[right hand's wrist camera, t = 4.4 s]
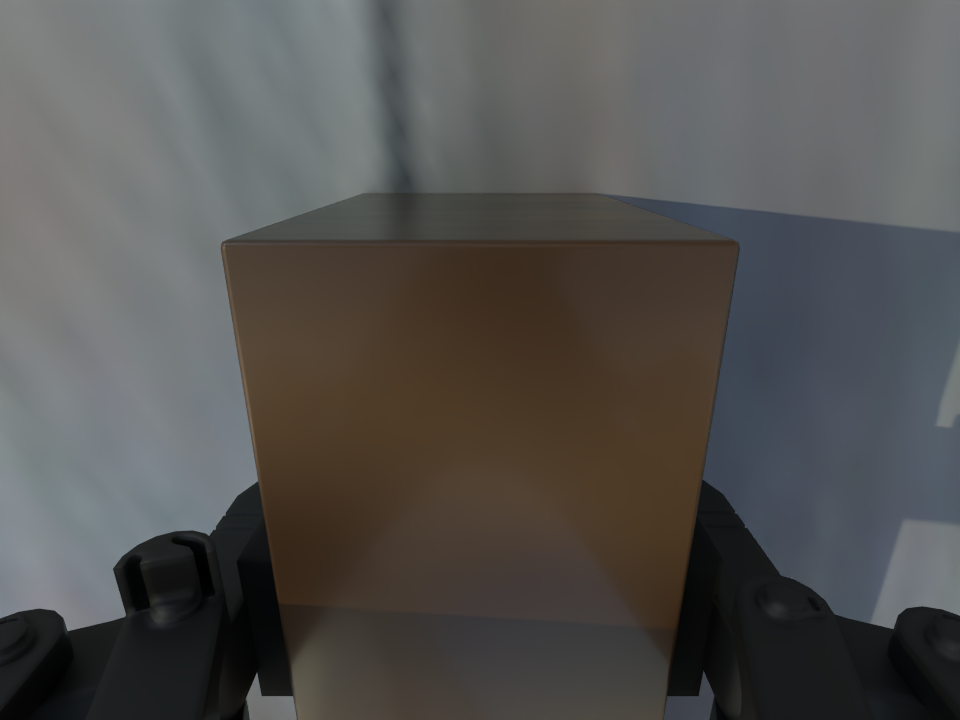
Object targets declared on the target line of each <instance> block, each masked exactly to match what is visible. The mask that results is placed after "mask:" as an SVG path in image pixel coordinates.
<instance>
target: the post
mask: <svg viewBox="0 0 960 720" xmlns="http://www.w3.org/2000/svg"><path fill="white" fill-rule="evenodd" d="M739 249H740V248H739V243H738V242H737V241H735V240H732V239H729V238H726V237H723V236H721V235H718V234H715V233H712V232H709V231H706V230H703V229H700V228H697V227H694V226H691V225H688V224H685V223H682V222H679V221H676V220H673V219H671V218H668V217H665V216H662V215H659V214H656V213H653V212H650V211H647V210H644V209H641V208H638V207H635V206H632V205H629V204H626V203H624V202H621V201H618V200H615V199H612V198H609V197H606V196H603V195H600V194H597V193H363V194H360V195H357V196H355V197H352V198H349V199H346V200H343V201H340V202H337V203H334V204H331V205H328V206H325V207H322V208H319V209H316V210H313V211H310V212H308V213H305V214H302V215H299V216H296V217H293V218H290V219H287V220H284V221H281V222H278V223H275V224H272V225H269V226H266V227H263V228H261V229H258V230H255V231H252V232H249V233H246V234H243V235H240V236H237V237H234V238H231V239H228V240H226V241H224V242H222V244H221V253H222V259H223V265H224V271H225V278H226V284H227V290H228V296H229V302H230V308H231V315H232V321H233V327H234V333H235V339H236V346H237V352H238V358H239V364H240V370H241V376H242V383H243V389H244V395H245V401H246V407H247V414H248V420H249V426H250V432H251V438H252V444H253V451H254V457H255V463H256V469H257V475H258V482H259V488H260V494H261V500H262V506H263V512H264V519H265V525H266V531H267V537H268V543H269V550H270V556H271V562H272V568H273V574H274V580H275V587H276V593H277V599H278V605H279V611H280V618H281V624H282V630H283V636H284V642H285V648H286V655H287V661H288V667H289V673H290V679H291V686H292V692H293V698H294V704H295V710H296V716H297V720H663V719H664V713H665V706H666V700H667V694H668V688H669V682H670V676H671V669H672V663H673V657H674V651H675V645H676V639H677V632H678V626H679V620H680V614H681V608H682V601H683V595H684V589H685V583H686V577H687V571H688V564H689V558H690V552H691V546H692V540H693V534H694V527H695V521H696V515H697V509H698V503H699V496H700V490H701V484H702V478H703V472H704V466H705V459H706V453H707V447H708V441H709V435H710V429H711V422H712V416H713V410H714V404H715V398H716V391H717V385H718V379H719V373H720V367H721V361H722V354H723V348H724V342H725V336H726V330H727V324H728V317H729V311H730V305H731V299H732V293H733V287H734V280H735V274H736V268H737V262H738V256H739Z"/></svg>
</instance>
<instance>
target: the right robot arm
mask: <svg viewBox="0 0 960 720" xmlns="http://www.w3.org/2000/svg"><path fill="white" fill-rule="evenodd" d="M113 570H114V574H115V577H116V581H117V584H118V588H119V591H120V595H121V598H122V602H123V605H124V609H125V612H126V616H125V617H124V618H120V619H117V620H114V621H110V622H106V623H101V624H97V625H93V626H89V627H84V628H80V629H76V630H72V631H67V628H66V625H65V622H64V619H63V617H61V616H60V615H59V614H58V613H57V612H55V611H53V610H45V609H34V610H28V611H22V612H17V613H15V614H12V615H9V616H6V617H3V618H1V619H0V720H250V718H249V711H248V705H247V700H246V696H247V694H248V692H249V690H250V687H251V685H252V683H253V680H254V678H255V676H256V673H258V678H259V683H260V689H261V694H262V696H293V692H292V686H291V679H290V673H289V667H288V661H287V655H286V648H285V642H284V636H283V630H282V624H281V618H280V611H279V605H278V599H277V593H276V587H275V580H274V574H273V568H272V562H271V556H270V550H269V543H268V537H267V531H266V525H265V519H264V512H263V506H262V500H261V494H260V488H259V482H257V483H255V484H254V485H252V486H251V487H250V488H248V489H247V490H245V491H244V492H243V493H241V494H240V495H238V496H237V498H236V499H235V501H234V502H233V503H232V505H231V506H230V508H229V509H228V510H227V512H226V516H223V517H222V519H221V520H220V522H219V523H218V525H217V526H216V530H213V532H212V533H211V534H210V536H208V535H207V534H205V533H201V532H197V531H175V532H171V533H168V534H164V535H160V536H156V537H154V538H152V539H150V540H148V541H145V542H143V543H141V544H139V545H137V546H136V547H134V548H133V549H132V550H130V551H129V552H128V553H126V554H125V555H124V556H122V558H121V559H120V560H119V562H118V563H117V564H116V566H115V567H114V568H113ZM703 670H704V672H705V674H706V677H707V679H708V681H709V684H710V686H711V688H712V690H713V693H714V700H713V705H712V710H711V715H710V720H960V616H959V615H956V614H953V613H950V612H948V611H945V610H941V609H935V608H929V607H923V606H922V607H914V608H907V609H906V610H904V611H903V612H902V613H901V614H899V615H898V618H897V621H896V623H895V626H894V629H890V628H886V627H882V626H877V625H873V624H869V623H864V622H860V621H856V620H852V619H848V618H844V617H841V616H838V615H835V614H834V613H833V612H832V610H831V609H830V607H829V606H828V604H827V603H826V601H825V600H824V599H823V598H821V597H820V596H819V595H818V594H817V593H816V592H814V591H813V590H812V589H811V588H809V587H807V586H805V585H803V584H801V583H799V582H797V581H796V580H794V579H790V578H787V577H784V576H781V575H780V574H779V572H778V571H777V569H776V568H775V567H774V565H773V564H772V562H771V561H770V560H769V558H768V557H767V555H766V554H765V553H764V551H763V550H762V548H761V547H760V546H759V544H758V543H757V541H756V540H755V539H754V537H753V536H752V534H751V533H750V531H749V530H748V529H747V528H745V524H744V523H743V522H742V520H741V519H740V517H739V516H738V515H737V514H735V510H734V509H733V508H732V506H731V505H730V503H729V502H728V501H727V499H726V498H725V496H724V495H723V494H722V493H721V492H719V491H718V490H716V489H715V488H713V487H712V486H711V485H709V484H708V483H706V482H705V481H704V480H702V484H701V490H700V496H699V503H698V509H697V515H696V521H695V527H694V534H693V540H692V546H691V552H690V558H689V564H688V571H687V577H686V583H685V589H684V595H683V601H682V608H681V614H680V620H679V626H678V632H677V639H676V645H675V651H674V657H673V663H672V669H671V676H670V682H669V688H668V694H667V696H699V691H700V685H701V680H702V675H703Z"/></svg>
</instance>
